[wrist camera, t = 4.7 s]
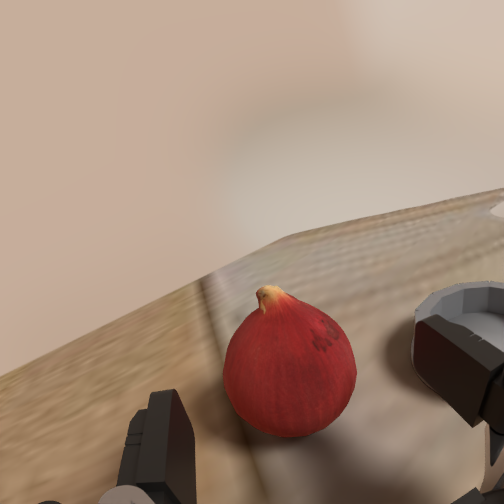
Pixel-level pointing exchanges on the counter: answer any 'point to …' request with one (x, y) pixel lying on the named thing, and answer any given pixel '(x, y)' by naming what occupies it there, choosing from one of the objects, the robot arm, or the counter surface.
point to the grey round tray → (468, 310)
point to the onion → (288, 367)
